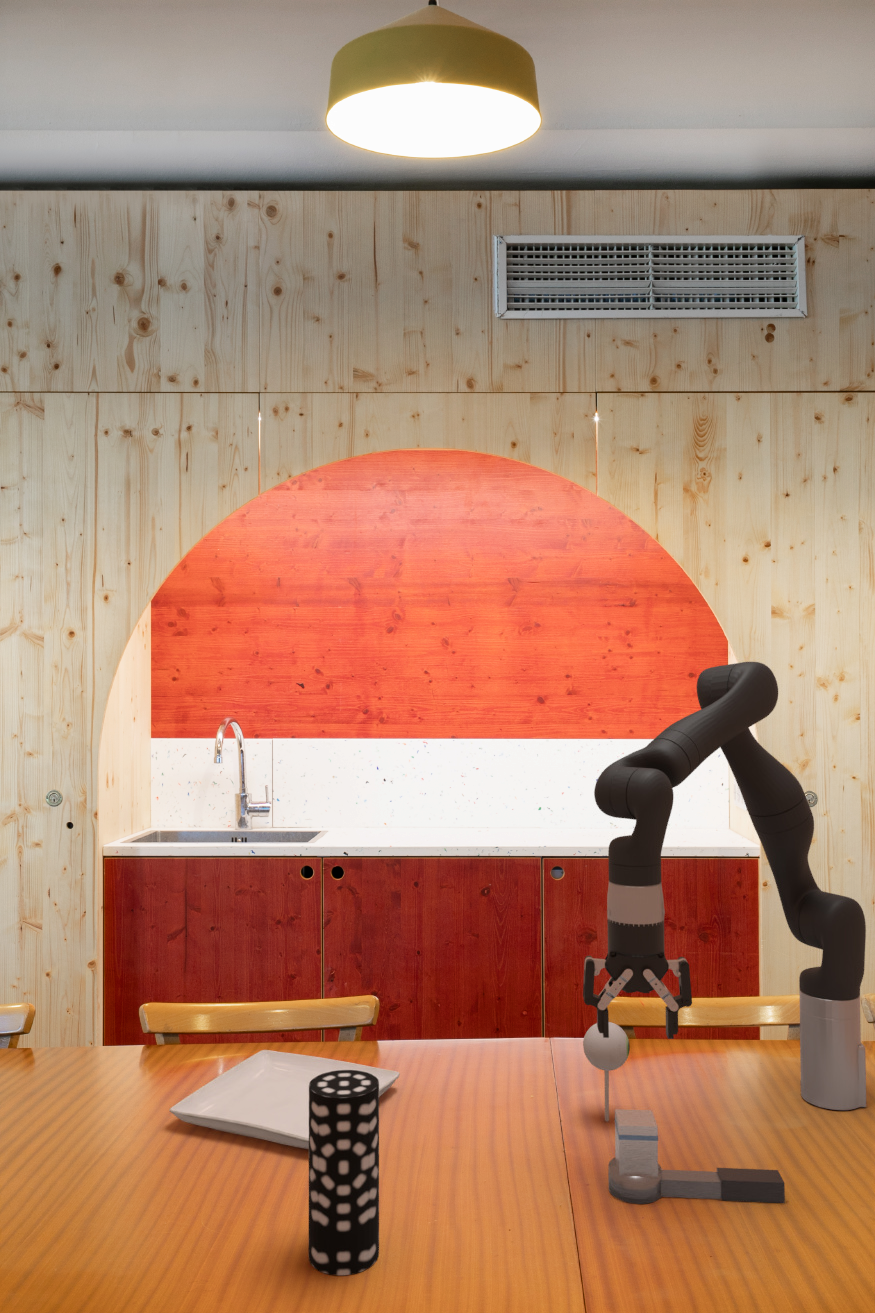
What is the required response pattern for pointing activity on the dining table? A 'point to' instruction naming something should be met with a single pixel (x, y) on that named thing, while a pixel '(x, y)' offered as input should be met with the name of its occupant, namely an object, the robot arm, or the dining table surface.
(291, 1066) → the square plate
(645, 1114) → the silver block
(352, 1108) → the spotted tube
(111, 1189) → the dining table surface
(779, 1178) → the ratchet
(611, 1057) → the lollipop
